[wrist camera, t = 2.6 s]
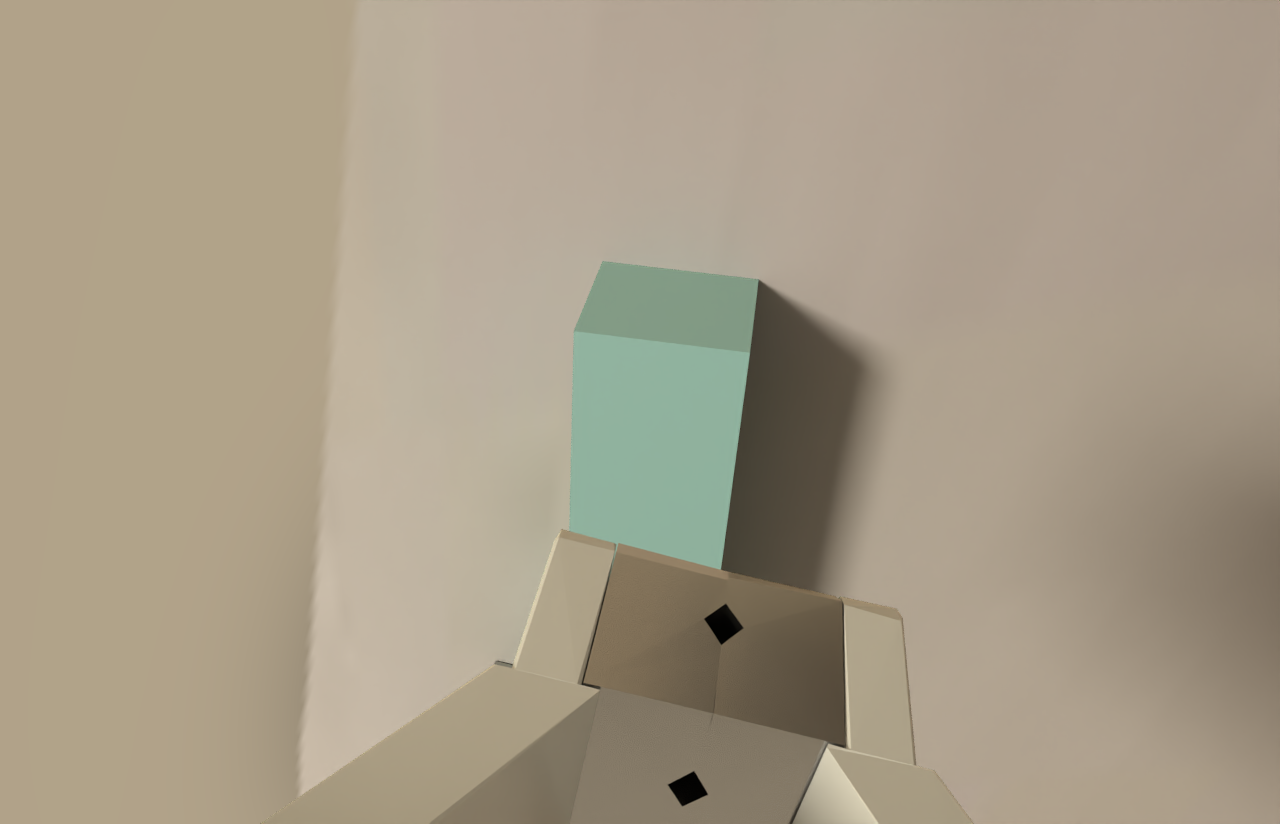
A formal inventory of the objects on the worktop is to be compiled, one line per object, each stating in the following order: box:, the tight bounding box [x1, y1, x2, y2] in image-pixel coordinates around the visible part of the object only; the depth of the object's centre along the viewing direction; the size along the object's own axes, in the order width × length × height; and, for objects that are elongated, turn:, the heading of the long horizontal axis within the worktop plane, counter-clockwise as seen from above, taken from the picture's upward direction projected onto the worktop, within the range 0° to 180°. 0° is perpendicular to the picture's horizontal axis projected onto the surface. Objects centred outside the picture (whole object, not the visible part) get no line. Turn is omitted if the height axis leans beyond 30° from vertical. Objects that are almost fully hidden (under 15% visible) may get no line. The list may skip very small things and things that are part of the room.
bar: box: [569, 261, 759, 570], centre depth 30 cm, size 18×4×4 cm, turn 176°
